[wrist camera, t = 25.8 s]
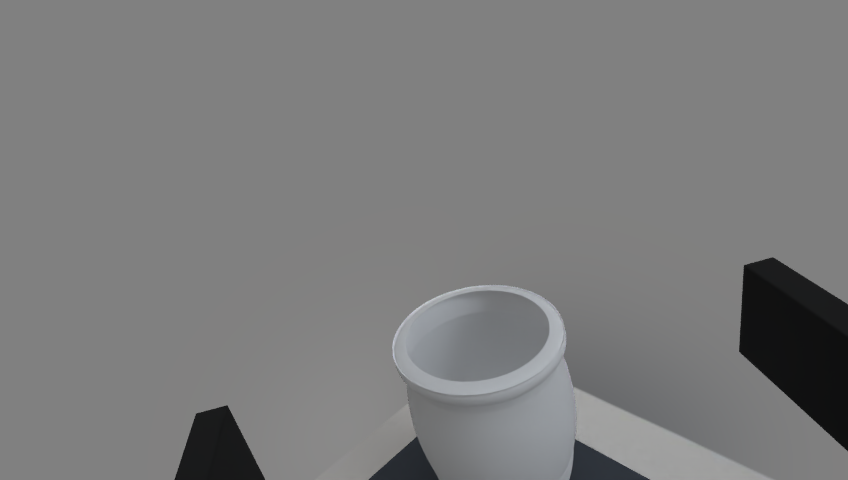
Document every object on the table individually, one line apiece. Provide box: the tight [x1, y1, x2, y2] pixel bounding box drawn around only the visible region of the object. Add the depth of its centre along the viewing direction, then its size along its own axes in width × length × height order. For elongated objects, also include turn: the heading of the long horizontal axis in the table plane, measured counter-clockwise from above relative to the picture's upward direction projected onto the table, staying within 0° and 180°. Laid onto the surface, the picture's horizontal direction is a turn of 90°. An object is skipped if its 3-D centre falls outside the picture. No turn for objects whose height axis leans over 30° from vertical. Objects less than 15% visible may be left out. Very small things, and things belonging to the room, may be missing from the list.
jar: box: [392, 285, 576, 480], centre depth 36 cm, size 11×10×15 cm
